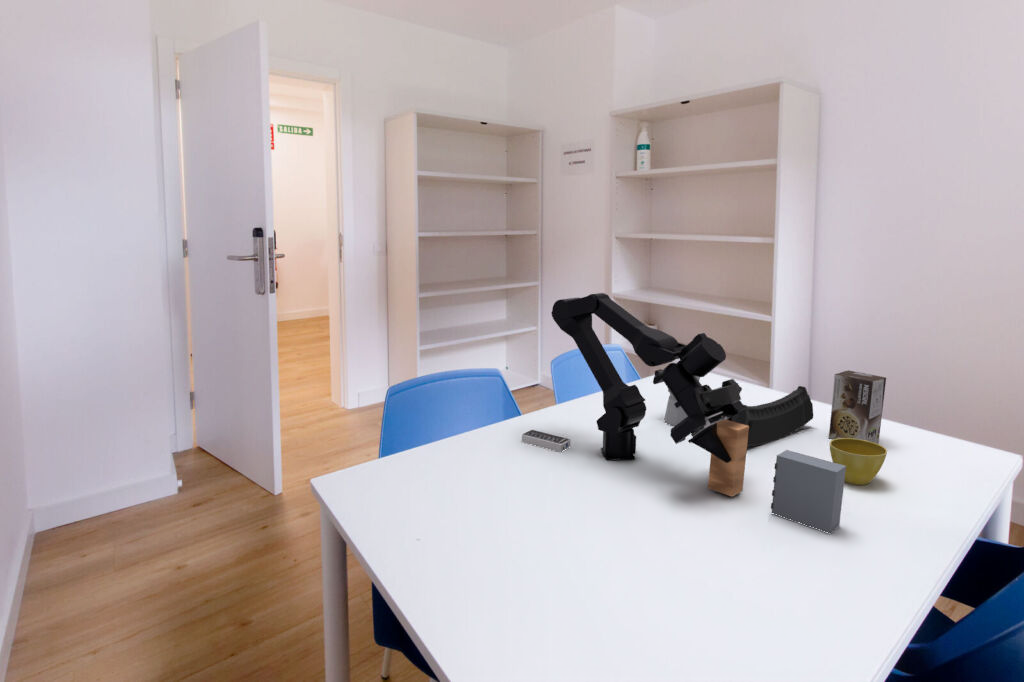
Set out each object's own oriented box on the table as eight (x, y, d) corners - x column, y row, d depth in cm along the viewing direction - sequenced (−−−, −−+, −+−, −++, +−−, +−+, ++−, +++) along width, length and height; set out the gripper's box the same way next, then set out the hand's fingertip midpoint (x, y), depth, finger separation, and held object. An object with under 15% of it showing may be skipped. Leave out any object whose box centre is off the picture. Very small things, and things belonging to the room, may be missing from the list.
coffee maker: (660, 413, 168) (664, 348, 165) (694, 415, 167) (698, 349, 164) (666, 432, 154) (670, 361, 150) (703, 434, 152) (708, 362, 149)
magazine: (736, 417, 137) (810, 362, 152) (723, 413, 140) (797, 359, 154) (744, 482, 143) (814, 422, 158) (731, 477, 146) (802, 419, 160)
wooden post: (707, 487, 120) (713, 423, 118) (718, 482, 123) (724, 419, 121) (731, 496, 117) (738, 430, 114) (742, 490, 119) (749, 425, 117)
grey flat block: (770, 513, 111) (775, 455, 109) (781, 506, 114) (786, 449, 112) (829, 534, 104) (836, 472, 102) (839, 526, 107) (846, 465, 105)
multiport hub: (531, 438, 150) (531, 429, 150) (571, 448, 144) (571, 439, 143) (521, 443, 147) (521, 434, 146) (560, 454, 140) (560, 444, 140)
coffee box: (879, 444, 146) (888, 377, 143) (865, 449, 143) (874, 381, 140) (841, 433, 154) (848, 369, 151) (827, 438, 150) (834, 372, 147)
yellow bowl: (815, 474, 129) (818, 441, 127) (849, 467, 133) (853, 435, 131) (858, 494, 120) (862, 458, 118) (894, 485, 124) (899, 451, 122)
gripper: (688, 375, 112) (741, 450, 106) (739, 359, 124) (789, 426, 119) (649, 407, 119) (697, 479, 113) (701, 389, 132) (747, 454, 126)
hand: (735, 458), depth 118 cm, fingers closed on wooden post, 4 cm apart
